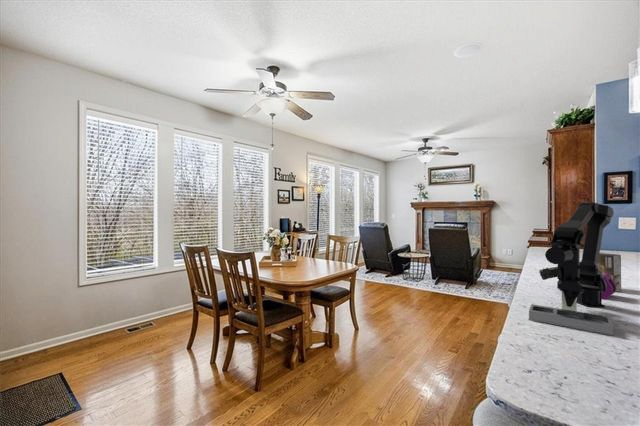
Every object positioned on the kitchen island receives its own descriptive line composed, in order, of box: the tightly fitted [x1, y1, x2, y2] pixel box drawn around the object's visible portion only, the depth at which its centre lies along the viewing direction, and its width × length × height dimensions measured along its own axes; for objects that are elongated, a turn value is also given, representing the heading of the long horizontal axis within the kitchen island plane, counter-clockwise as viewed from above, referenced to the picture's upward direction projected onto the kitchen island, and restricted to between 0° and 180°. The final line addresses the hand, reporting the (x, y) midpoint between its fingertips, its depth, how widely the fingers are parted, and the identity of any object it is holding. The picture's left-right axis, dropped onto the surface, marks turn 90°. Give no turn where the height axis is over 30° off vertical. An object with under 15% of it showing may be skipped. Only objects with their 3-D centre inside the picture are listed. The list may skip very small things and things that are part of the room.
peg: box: [561, 291, 578, 312], centre depth 105 cm, size 4×4×8 cm
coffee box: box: [598, 252, 622, 293], centre depth 134 cm, size 9×6×16 cm
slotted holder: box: [528, 303, 614, 337], centre depth 95 cm, size 20×9×3 cm, turn 50°
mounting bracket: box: [558, 273, 617, 300], centre depth 127 cm, size 9×8×18 cm
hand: (569, 305), depth 105 cm, fingers closed on peg, 4 cm apart
